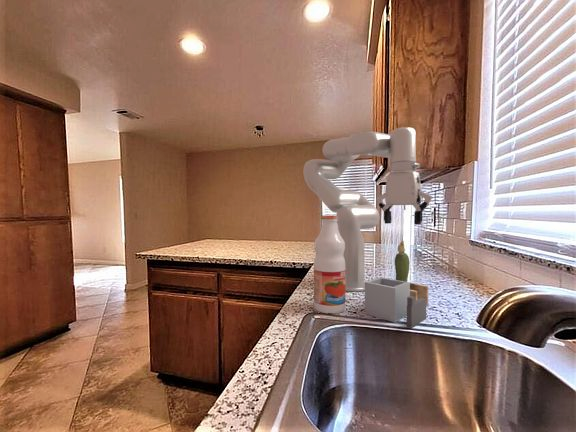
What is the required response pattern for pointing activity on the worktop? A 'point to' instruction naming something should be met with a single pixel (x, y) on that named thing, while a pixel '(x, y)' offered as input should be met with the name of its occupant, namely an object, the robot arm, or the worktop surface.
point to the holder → (419, 291)
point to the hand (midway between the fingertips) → (402, 223)
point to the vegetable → (402, 263)
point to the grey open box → (386, 298)
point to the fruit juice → (329, 268)
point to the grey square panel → (415, 311)
